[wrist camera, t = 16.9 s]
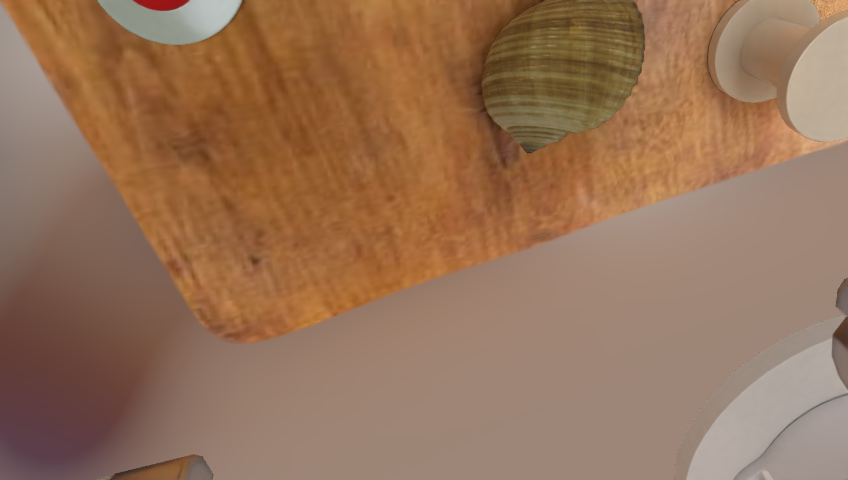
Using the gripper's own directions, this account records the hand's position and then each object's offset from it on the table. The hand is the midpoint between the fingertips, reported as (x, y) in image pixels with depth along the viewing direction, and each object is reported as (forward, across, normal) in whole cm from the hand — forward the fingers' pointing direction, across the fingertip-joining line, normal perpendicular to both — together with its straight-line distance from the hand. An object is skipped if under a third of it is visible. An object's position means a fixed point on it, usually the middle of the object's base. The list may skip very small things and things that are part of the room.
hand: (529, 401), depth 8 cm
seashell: (+28, -9, +4) cm, 30 cm away
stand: (+28, -20, +7) cm, 35 cm away
